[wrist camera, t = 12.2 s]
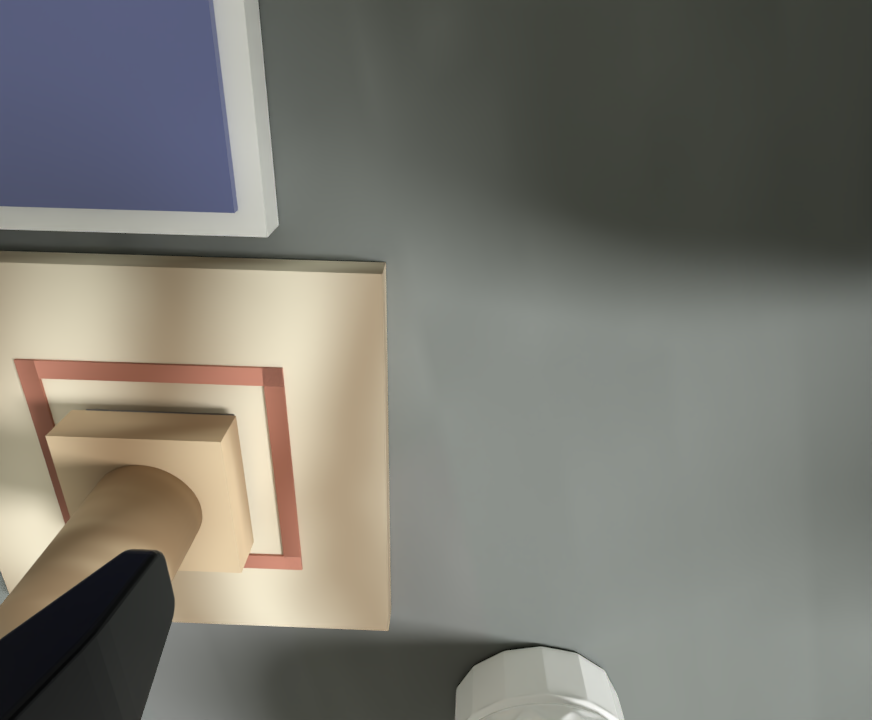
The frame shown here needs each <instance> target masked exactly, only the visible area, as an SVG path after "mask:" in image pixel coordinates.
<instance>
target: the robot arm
mask: <svg viewBox="0 0 872 720" xmlns="http://www.w3.org/2000/svg"><path fill="white" fill-rule="evenodd" d="M174 610H175V597H174V592H173V588H172V584H171V579H170V575H169V571H168V566H167V562H166V559H165V556H164V555H163V553H162V552H161V551H158V550H147V549H129V550H126V551H124V552H122V553H120V554H119V555H117V556H116V557H115V558H113V559H112V560H110V561H109V562H107V563H106V564H105V565H103V566H102V567H100V568H99V569H98V570H96V571H95V572H93V573H92V574H91V575H89V576H88V577H86V578H85V579H84V580H82V581H81V582H79V583H78V584H77V585H75V586H74V587H72V588H71V589H70V590H68V591H67V592H65V593H64V594H63V595H61V596H60V597H58V598H57V599H56V600H54V601H53V602H51V603H50V604H49V605H47V606H46V607H44V608H43V609H42V610H40V611H39V612H37V613H36V614H35V615H33V616H32V617H30V618H29V619H28V620H26V621H25V622H23V623H22V624H21V625H19V626H18V627H16V628H15V629H13V630H12V631H11V632H9V633H8V634H6V635H5V636H4V637H2V638H1V639H0V720H141V717H142V714H143V711H144V708H145V705H146V702H147V698H148V695H149V692H150V689H151V686H152V683H153V680H154V676H155V673H156V670H157V667H158V664H159V661H160V657H161V654H162V651H163V648H164V645H165V642H166V639H167V635H168V632H169V629H170V626H171V623H172V620H173V616H174Z"/></svg>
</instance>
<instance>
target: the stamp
mask: <svg viewBox="0 0 872 720" xmlns="http://www.w3.org/2000/svg"><path fill="white" fill-rule="evenodd" d="M45 437H46V440H47V443H48V446H49V450H50V453H51V456H52V459H53V463H54V466H55V469H56V472H57V476H58V479H59V482H60V485H61V489H62V492H63V495H64V499H65V502H66V505H67V508H68V512H69V515H70V519H69V520H68V521H67V523H66V524H65V525H64V526H63V528H62V529H61V530H60V531H59V533H58V534H57V535H56V536H55V538H54V539H53V540H52V542H51V543H50V544H49V545H48V547H47V548H46V549H45V550H44V552H43V553H42V554H41V555H40V557H39V558H38V559H37V560H36V562H35V563H34V564H33V565H32V567H31V568H30V569H29V570H28V572H27V573H26V574H25V575H24V577H23V578H22V579H21V580H20V582H19V583H18V584H17V585H16V587H15V588H14V589H13V590H12V592H11V593H10V594H9V595H8V597H7V598H6V599H5V600H4V602H3V603H2V604H1V605H0V639H1V638H2V637H4V636H5V635H6V634H8V633H9V632H11V631H12V630H13V629H15V628H16V627H18V626H19V625H21V624H22V623H23V622H25V621H26V620H28V619H29V618H30V617H32V616H33V615H35V614H36V613H37V612H39V611H40V610H42V609H43V608H44V607H46V606H47V605H49V604H50V603H51V602H53V601H54V600H56V599H57V598H58V597H60V596H61V595H63V594H64V593H65V592H67V591H68V590H70V589H71V588H72V587H74V586H75V585H77V584H78V583H79V582H81V581H82V580H84V579H85V578H86V577H88V576H89V575H91V574H92V573H93V572H95V571H96V570H98V569H99V568H100V567H102V566H103V565H105V564H106V563H107V562H109V561H110V560H112V559H113V558H115V557H116V556H117V555H119V554H120V553H122V552H124V551H126V550H129V549H147V550H158V551H161V552H162V553H163V555H164V556H165V559H166V562H167V566H168V571H169V575H170V579H171V583H172V581H173V579H174V577H175V575H176V573H177V571H201V572H226V573H242V570H243V568H244V565H245V563H246V560H247V558H248V555H249V553H250V551H251V548H252V546H253V543H254V539H253V532H252V525H251V518H250V510H249V503H248V496H247V489H246V482H245V475H244V468H243V461H242V454H241V447H240V440H239V433H238V426H237V419H236V416H235V415H234V414H219V413H190V412H162V411H133V410H105V409H86V410H71V411H70V412H69V413H68V414H67V415H66V416H65V417H64V418H63V419H62V420H61V421H60V422H59V423H58V424H57V425H56V426H55V427H54V428H53V429H52V430H51V431H50V432H49V433H48V434H47V435H46V436H45Z"/></svg>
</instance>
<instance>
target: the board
mask: <svg viewBox="0 0 872 720" xmlns="http://www.w3.org/2000/svg"><path fill="white" fill-rule="evenodd" d="M86 409H105V410H133V411H162V412H190V413H219V414H234V415H235V416H236V419H237V426H238V433H239V440H240V447H241V454H242V461H243V468H244V475H245V482H246V489H247V496H248V503H249V510H250V518H251V525H252V532H253V539H254V543H253V546H252V548H251V551H250V553H249V555H248V558H247V560H246V563H245V565H244V568H243V570H242V573H226V572H201V571H177V573H176V575H175V577H174V579H173V581H172V583H171V584H172V588H173V592H174V597H175V610H174V616H173V620H172V622H184V623H208V624H233V625H257V626H282V627H307V628H331V629H356V630H381V631H389V623H390V614H391V570H390V504H389V437H388V371H387V304H386V262H353V261H320V260H288V259H255V258H222V257H189V256H156V255H123V254H90V253H57V252H24V251H0V571H1V573H2V576H3V578H4V581H5V583H6V586H7V589H8V591H9V594H10V593H11V592H12V590H13V589H14V588H15V587H16V585H17V584H18V583H19V582H20V580H21V579H22V578H23V577H24V575H25V574H26V573H27V572H28V570H29V569H30V568H31V567H32V565H33V564H34V563H35V562H36V560H37V559H38V558H39V557H40V555H41V554H42V553H43V552H44V550H45V549H46V548H47V547H48V545H49V544H50V543H51V542H52V540H53V539H54V538H55V536H56V535H57V534H58V533H59V531H60V530H61V529H62V528H63V526H64V525H65V524H66V523H67V521H68V520H69V519H70V515H69V512H68V508H67V505H66V502H65V499H64V495H63V492H62V489H61V485H60V482H59V479H58V476H57V472H56V469H55V466H54V463H53V459H52V456H51V453H50V450H49V446H48V443H47V440H46V437H45V436H46V435H47V434H48V433H49V432H50V431H51V430H52V429H53V428H54V427H55V426H56V425H57V424H58V423H59V422H60V421H61V420H62V419H63V418H64V417H65V416H66V415H67V414H68V413H69V412H70V411H71V410H86Z"/></svg>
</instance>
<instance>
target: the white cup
mask: <svg viewBox="0 0 872 720" xmlns="http://www.w3.org/2000/svg"><path fill="white" fill-rule="evenodd" d="M455 720H624V717H623V713H622V709H621V706H620V702H619V699H618V696H617V693H616V691H615V689H614V687H613V686H612V684H611V682H610V680H609V678H608V676H607V674H606V672H605V671H604V670H603V669H602V668H600V667H599V666H597V665H595V664H594V663H592V662H591V661H589V660H587V659H586V658H584V657H583V656H581V655H579V654H578V653H574V652H569V651H564V650H559V649H554V648H548V647H542V646H539V647H530V648H522V649H514V650H507V651H503V652H501V653H499V654H497V655H494V656H492V657H490V658H488V659H486V660H484V661H482V662H480V663H478V664H476V665H475V666H473V668H472V669H471V670H470V671H469V673H468V674H467V675H466V677H465V678H464V679H463V680H462V682H461V683H460V684H459V686H458V687H457V689H456V705H455Z"/></svg>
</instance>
